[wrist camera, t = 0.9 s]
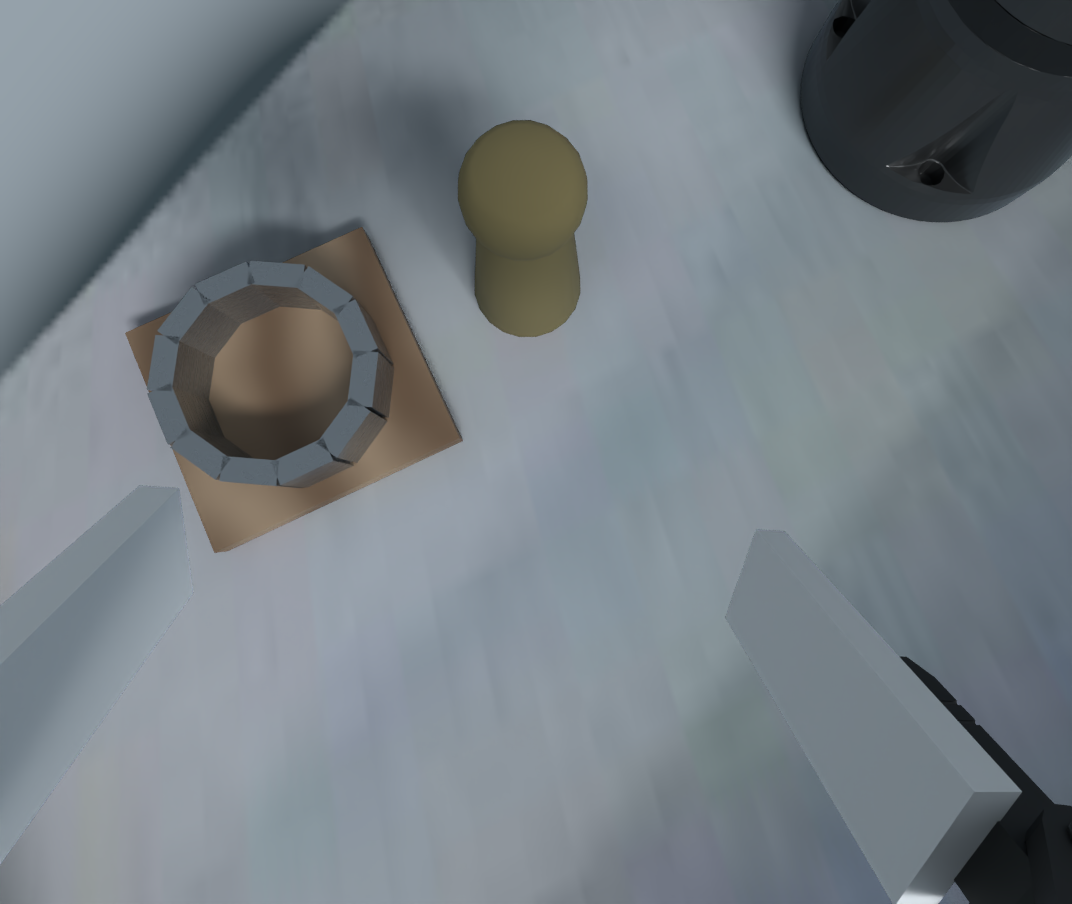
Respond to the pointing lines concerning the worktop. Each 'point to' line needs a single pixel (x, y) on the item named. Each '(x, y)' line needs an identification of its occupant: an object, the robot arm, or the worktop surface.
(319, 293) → the steel collar
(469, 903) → the worktop surface
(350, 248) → the walnut board
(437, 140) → the worktop surface
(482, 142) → the cork
